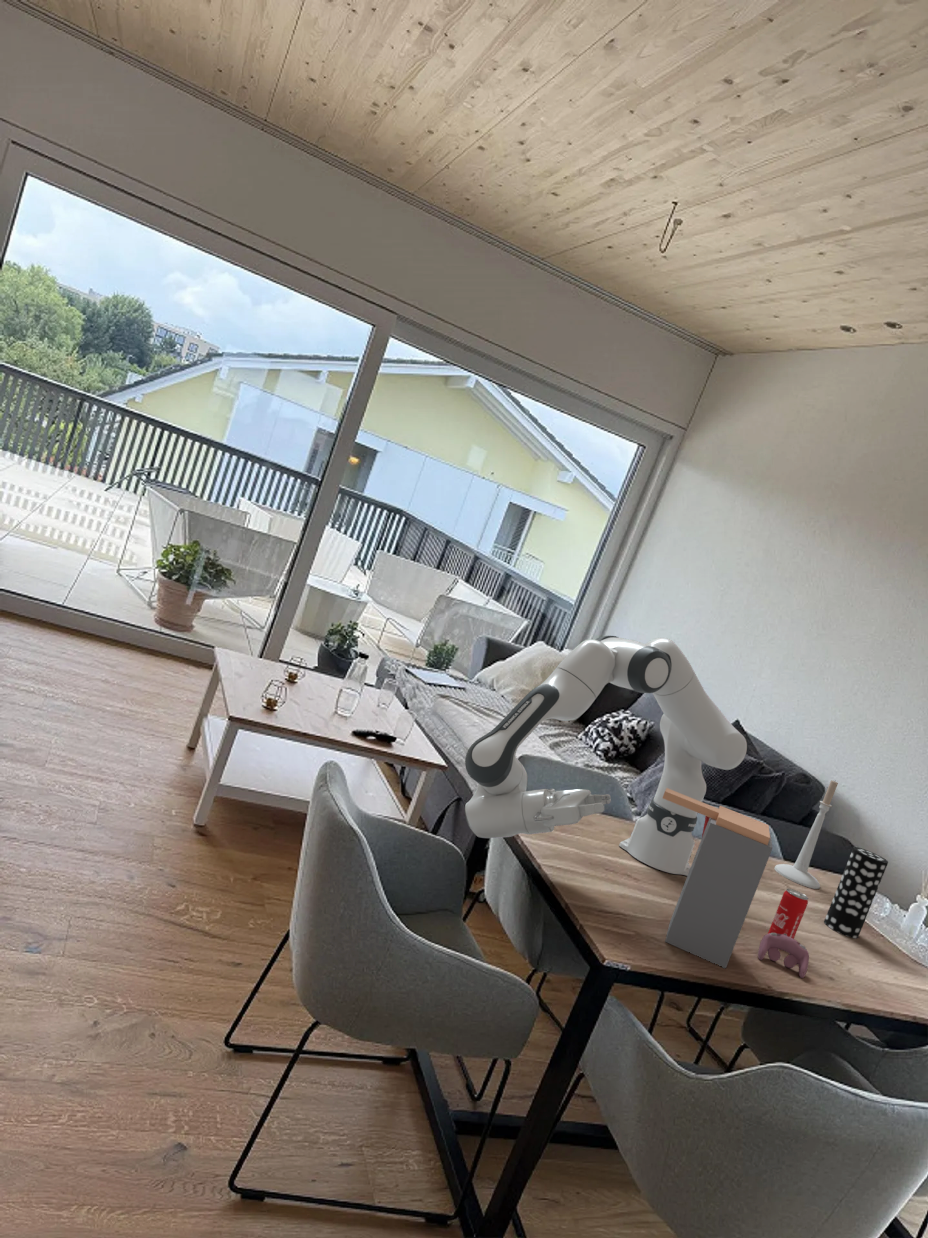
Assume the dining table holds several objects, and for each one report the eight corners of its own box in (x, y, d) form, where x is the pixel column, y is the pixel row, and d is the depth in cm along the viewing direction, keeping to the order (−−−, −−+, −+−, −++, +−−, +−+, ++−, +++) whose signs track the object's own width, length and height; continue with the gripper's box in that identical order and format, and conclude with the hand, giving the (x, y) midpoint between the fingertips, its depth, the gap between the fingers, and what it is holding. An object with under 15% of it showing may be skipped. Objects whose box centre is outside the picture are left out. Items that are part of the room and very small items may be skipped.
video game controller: (801, 981, 193) (811, 948, 196) (805, 979, 189) (816, 945, 192) (753, 960, 196) (763, 927, 199) (756, 957, 192) (767, 924, 195)
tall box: (670, 921, 197) (712, 810, 195) (726, 946, 194) (770, 833, 191) (665, 941, 184) (710, 822, 182) (725, 969, 181) (772, 848, 179)
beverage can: (791, 953, 203) (811, 902, 202) (767, 944, 204) (787, 893, 203) (787, 944, 208) (807, 894, 207) (764, 935, 209) (783, 885, 208)
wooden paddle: (665, 791, 197) (668, 784, 197) (765, 832, 191) (768, 825, 191) (660, 801, 185) (663, 794, 185) (767, 845, 180) (770, 838, 180)
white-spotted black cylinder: (843, 937, 229) (874, 860, 227) (817, 919, 236) (846, 845, 234) (865, 939, 233) (895, 864, 231) (838, 922, 240) (867, 849, 238)
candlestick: (799, 872, 279) (836, 776, 276) (828, 892, 267) (868, 793, 264) (765, 863, 274) (803, 767, 271) (793, 884, 262) (833, 783, 259)
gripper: (527, 805, 188) (596, 796, 184) (548, 788, 208) (611, 779, 204) (533, 836, 188) (602, 828, 184) (553, 816, 208) (616, 809, 204)
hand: (607, 802), depth 194 cm, fingers open, 8 cm apart
